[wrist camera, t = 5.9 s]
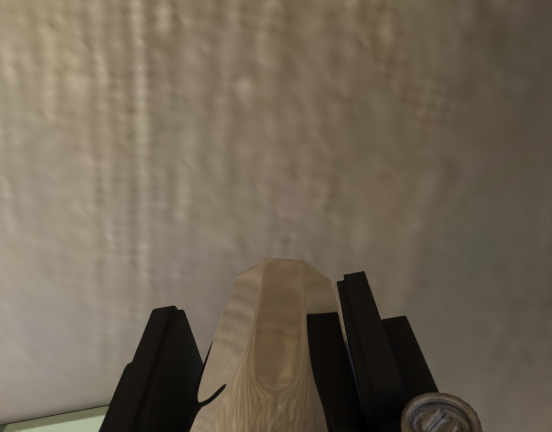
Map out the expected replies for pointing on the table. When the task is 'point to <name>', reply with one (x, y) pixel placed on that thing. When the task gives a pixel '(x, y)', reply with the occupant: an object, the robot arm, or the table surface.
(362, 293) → the robot arm
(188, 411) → the milkshake
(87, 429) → the towel
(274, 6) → the table surface
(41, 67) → the table surface
